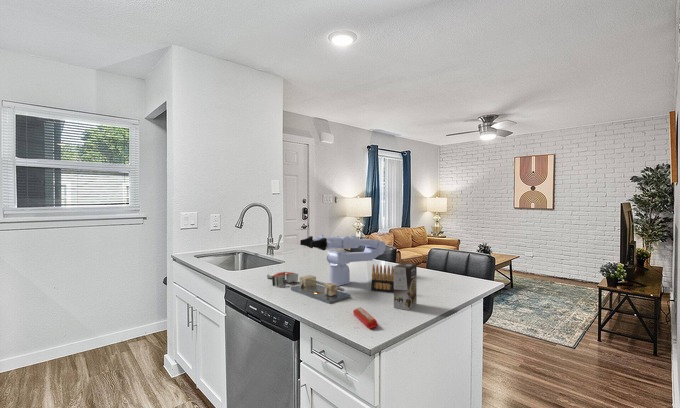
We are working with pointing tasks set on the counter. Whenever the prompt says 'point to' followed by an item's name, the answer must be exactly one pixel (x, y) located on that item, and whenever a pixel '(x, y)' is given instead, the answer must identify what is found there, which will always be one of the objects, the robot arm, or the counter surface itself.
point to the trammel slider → (330, 289)
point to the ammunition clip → (382, 279)
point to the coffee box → (405, 286)
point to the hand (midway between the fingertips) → (305, 243)
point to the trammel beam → (313, 282)
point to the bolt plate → (320, 293)
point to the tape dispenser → (282, 278)
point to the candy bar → (365, 318)
